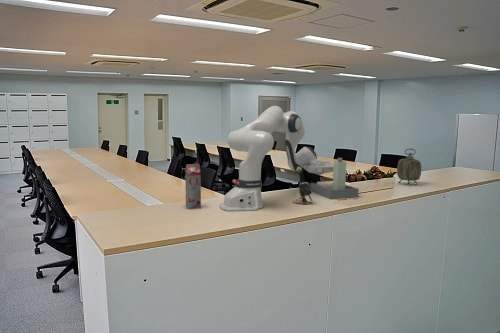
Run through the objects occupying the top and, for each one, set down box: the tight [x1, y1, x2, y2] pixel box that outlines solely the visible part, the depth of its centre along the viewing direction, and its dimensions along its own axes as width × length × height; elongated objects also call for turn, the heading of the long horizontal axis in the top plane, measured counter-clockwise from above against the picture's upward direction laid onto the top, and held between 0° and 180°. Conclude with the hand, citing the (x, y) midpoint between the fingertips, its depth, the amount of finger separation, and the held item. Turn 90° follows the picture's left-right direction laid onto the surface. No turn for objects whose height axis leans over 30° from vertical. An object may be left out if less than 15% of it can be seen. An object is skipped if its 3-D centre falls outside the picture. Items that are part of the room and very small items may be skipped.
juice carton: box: [185, 163, 202, 210], centre depth 196 cm, size 7×7×22 cm
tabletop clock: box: [396, 148, 422, 185], centre depth 268 cm, size 14×9×25 cm, turn 77°
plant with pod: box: [292, 167, 313, 205], centre depth 208 cm, size 8×11×20 cm
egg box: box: [315, 180, 333, 190], centre depth 235 cm, size 12×8×6 cm, turn 109°
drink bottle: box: [332, 157, 347, 190], centre depth 222 cm, size 5×5×22 cm
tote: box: [309, 182, 360, 201], centre depth 229 cm, size 18×24×6 cm
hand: (329, 170), depth 233 cm, fingers open, 8 cm apart
